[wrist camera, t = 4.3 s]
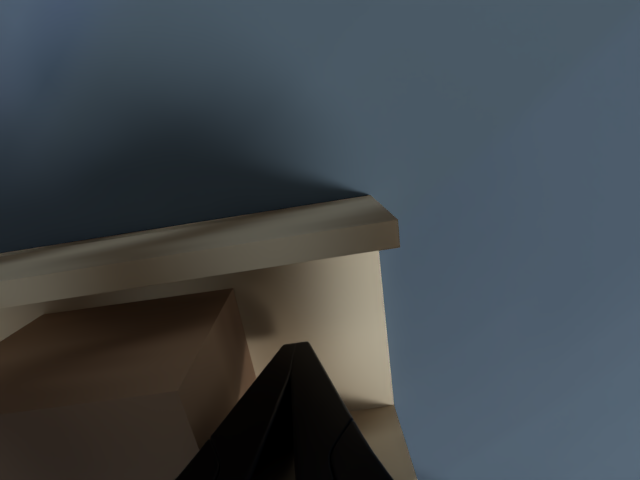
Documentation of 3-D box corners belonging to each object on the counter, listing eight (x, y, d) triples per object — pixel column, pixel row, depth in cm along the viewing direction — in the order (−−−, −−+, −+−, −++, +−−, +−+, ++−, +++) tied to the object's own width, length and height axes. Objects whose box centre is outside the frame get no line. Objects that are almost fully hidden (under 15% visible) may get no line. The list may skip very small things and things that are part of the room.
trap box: (370, 194, 9) (398, 219, 6) (399, 478, 13) (424, 576, 10) (-386, 313, 9) (-688, 387, 7) (-142, 552, 13) (-267, 665, 10)
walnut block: (233, 287, 9) (178, 390, 5) (259, 390, 10) (229, 533, 7) (42, 314, 9) (-144, 433, 5) (91, 412, 11) (-34, 565, 7)
